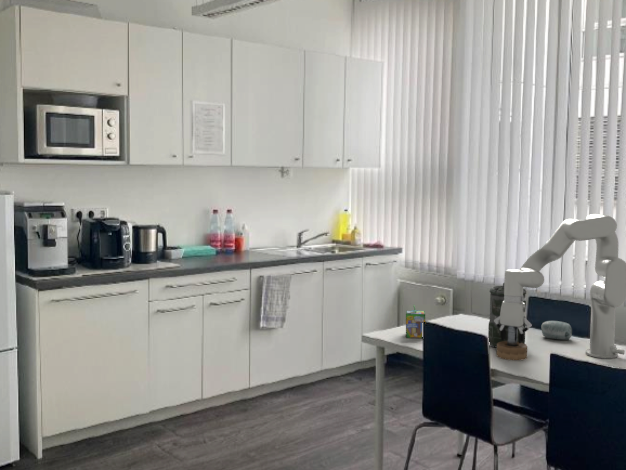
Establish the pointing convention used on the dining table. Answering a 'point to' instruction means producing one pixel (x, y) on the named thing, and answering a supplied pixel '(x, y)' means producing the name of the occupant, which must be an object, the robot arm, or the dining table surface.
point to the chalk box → (414, 323)
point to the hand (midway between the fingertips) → (512, 340)
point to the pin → (512, 336)
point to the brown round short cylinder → (511, 351)
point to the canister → (495, 310)
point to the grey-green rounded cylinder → (556, 330)
